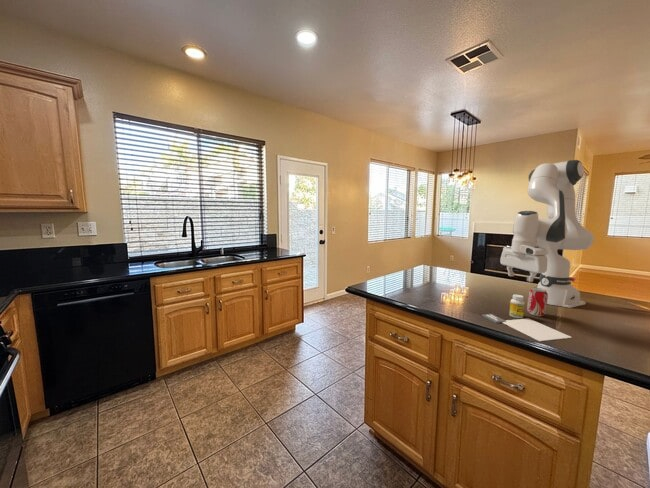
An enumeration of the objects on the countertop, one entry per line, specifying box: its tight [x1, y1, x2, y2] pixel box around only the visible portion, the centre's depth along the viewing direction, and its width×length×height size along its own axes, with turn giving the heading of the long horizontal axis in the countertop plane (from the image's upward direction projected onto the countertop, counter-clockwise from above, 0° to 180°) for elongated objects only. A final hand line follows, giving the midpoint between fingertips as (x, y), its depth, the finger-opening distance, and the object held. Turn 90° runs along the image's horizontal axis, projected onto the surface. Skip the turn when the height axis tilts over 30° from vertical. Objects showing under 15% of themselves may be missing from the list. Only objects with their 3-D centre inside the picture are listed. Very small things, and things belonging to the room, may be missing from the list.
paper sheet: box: [502, 318, 573, 342], centre depth 113 cm, size 15×18×1 cm
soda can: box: [526, 287, 548, 317], centre depth 128 cm, size 7×7×12 cm
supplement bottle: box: [509, 294, 526, 319], centre depth 126 cm, size 5×5×10 cm
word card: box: [481, 313, 506, 324], centre depth 123 cm, size 5×8×1 cm, turn 12°
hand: (520, 278), depth 124 cm, fingers open, 8 cm apart
